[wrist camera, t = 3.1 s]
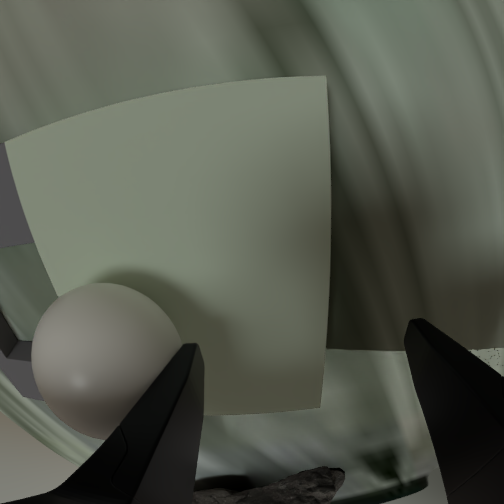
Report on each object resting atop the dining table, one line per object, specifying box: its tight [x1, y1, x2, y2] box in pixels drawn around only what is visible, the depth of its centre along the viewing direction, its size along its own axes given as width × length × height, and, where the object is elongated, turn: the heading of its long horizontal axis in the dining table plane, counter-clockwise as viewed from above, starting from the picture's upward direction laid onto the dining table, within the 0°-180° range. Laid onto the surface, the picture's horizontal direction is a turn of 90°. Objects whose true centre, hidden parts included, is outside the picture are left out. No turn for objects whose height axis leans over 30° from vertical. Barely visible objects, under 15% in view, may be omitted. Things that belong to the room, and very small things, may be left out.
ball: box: [31, 283, 182, 440], centre depth 9 cm, size 5×5×5 cm
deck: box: [0, 76, 331, 415], centre depth 12 cm, size 18×14×2 cm
